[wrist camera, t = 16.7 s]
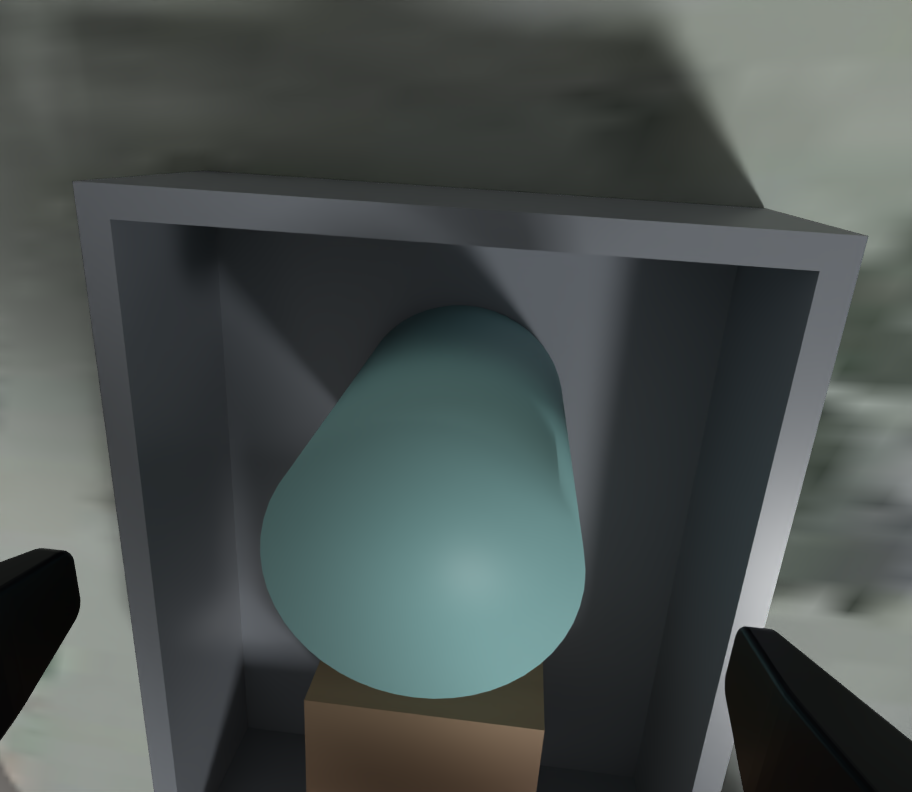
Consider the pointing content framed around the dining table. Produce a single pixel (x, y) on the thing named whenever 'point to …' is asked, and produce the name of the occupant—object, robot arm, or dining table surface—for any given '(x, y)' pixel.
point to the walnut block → (422, 738)
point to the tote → (587, 418)
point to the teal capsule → (433, 514)
